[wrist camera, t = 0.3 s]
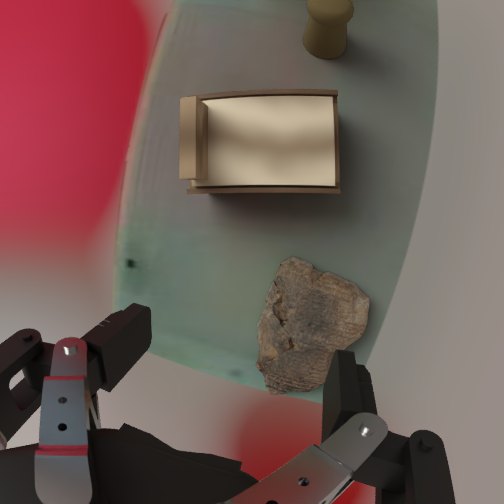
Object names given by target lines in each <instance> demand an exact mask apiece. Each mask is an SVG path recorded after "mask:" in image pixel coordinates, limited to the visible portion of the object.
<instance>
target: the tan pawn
mask: <svg viewBox="0 0 504 504" xmlns="http://www.w3.org/2000/svg"><path fill="white" fill-rule="evenodd" d="M307 9H308V12H309V14H310V17H309V20H308V23H307V26H306V29H305V32H304V36H303V44H304V46H305V48H306V50H307V51H308V52H309V53H310V54H312V55H314V56H316V57H318V58H322V59H333V58H337V57H339V56H340V55H342V54H343V52H344V51H345V49H346V45H347V23H348V22H349V21H350V19H351V18H352V16H353V12H354V7H353V3H352V1H351V0H308V1H307Z"/></svg>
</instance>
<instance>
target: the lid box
mask: <svg viewBox="0 0 504 504" xmlns="http://www.w3.org/2000/svg"><path fill="white" fill-rule="evenodd" d="M193 96H197V97H198V98H199V99H200V100H201V101H206V100H216V99H228V98H242V97H263V96H324V97H333V116H334V144H335V186H323V185H223V186H192V180H190V189H187V194H206V193H331V194H341V189H339V132H338V110H337V96H338V90H317V89H270V90H247V91H232V92H220V93H210V94H201V95H193ZM187 97H192V96H187Z"/></svg>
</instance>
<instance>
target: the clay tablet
mask: <svg viewBox="0 0 504 504" xmlns="http://www.w3.org/2000/svg"><path fill="white" fill-rule="evenodd" d="M266 302H268V303H267V305H266V307H265V309H264V311H263V313H262V314H261V319H260V321H259V322H258V324H257V326H258V330H259V334H258V344H259V346H260V350H259V358H258V361H257V362H256V368H257V369H258V370H259V371H261V372H262V373H263V375H264V377H265V382H266V387H267V390H268V392H269V393H270V394H271V395H277V394H284V393H287V392H309V391H312V390H314V389H316V388H318V387H319V386H320V385H321V384H323V383H325V379H326V376H327V373H328V370H329V367H330V364H331V361H332V358H333V355H334V352H335V350H336V349H339V350H345V349H346V348H347V347H348V346H349V345H350V344H352V343H353V342H355V341H356V340H358V339H359V338H360V337H361V336H362V335H363V334H364V332H365V330H366V328H367V321H368V311H369V308H370V299H369V296H366V295H364V293H363V292H362V291H361V290H360V289H359V288H358V286H357V285H356V284H354V283H353V282H351V281H349V280H346V279H344V278H342V277H340V276H338V275H336V274H333V273H330V272H328V271H327V272H326V273H321V272H319V271H317V270H316V269H314V268H313V267H312V264H311V263H309V262H307V261H304V260H301V259H299V258H296V257H290V258H289V259H287V260H285V261H284V262H282V263H281V264H280V268H279V270H278V271H277V273H276V276H275V281H273V282H272V284H271V286H270V289H269V291H268V294H267V296H266Z"/></svg>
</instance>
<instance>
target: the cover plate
mask: <svg viewBox="0 0 504 504" xmlns="http://www.w3.org/2000/svg"><path fill="white" fill-rule="evenodd" d="M179 166H180V179H188V180H192V186H223V185H323V186H335V144H334V116H333V97H324V96H263V97H242V98H228V99H216V100H206V101H201V100H200V99H199V98H198V97H197V96H192V97H185V98H180V141H179Z"/></svg>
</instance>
